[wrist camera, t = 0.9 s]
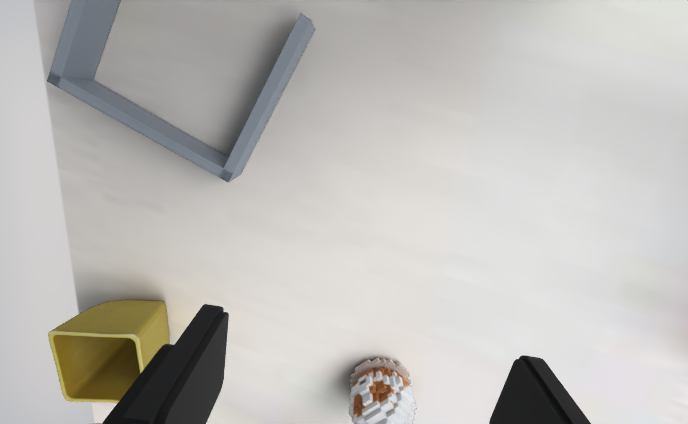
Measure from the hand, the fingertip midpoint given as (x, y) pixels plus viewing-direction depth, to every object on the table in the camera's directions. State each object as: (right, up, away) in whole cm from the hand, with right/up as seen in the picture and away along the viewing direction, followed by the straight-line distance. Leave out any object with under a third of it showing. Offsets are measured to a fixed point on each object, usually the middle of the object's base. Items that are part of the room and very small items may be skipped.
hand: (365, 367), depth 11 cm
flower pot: (-25, -8, +32) cm, 42 cm away
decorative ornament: (+4, -17, +35) cm, 39 cm away
